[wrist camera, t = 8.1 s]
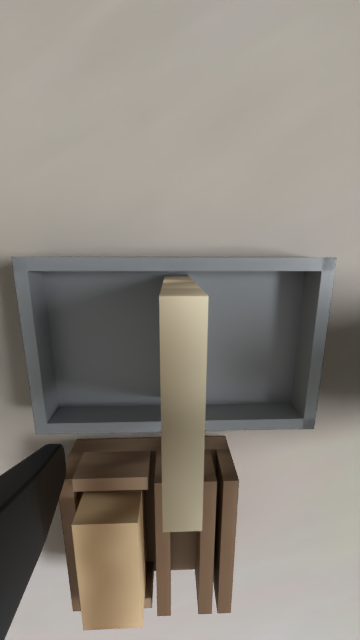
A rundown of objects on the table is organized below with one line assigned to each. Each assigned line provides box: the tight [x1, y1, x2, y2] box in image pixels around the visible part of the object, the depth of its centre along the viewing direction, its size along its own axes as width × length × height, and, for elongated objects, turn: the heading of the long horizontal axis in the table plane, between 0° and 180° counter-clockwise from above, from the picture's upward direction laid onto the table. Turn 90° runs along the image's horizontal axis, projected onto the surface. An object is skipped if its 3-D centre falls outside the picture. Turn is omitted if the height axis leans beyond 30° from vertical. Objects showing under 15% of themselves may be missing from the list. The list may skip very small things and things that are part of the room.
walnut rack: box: [59, 436, 239, 616], centre depth 21 cm, size 12×12×4 cm
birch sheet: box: [159, 275, 209, 532], centre depth 14 cm, size 2×9×10 cm, turn 0°
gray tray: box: [11, 257, 336, 434], centre depth 18 cm, size 19×12×3 cm, turn 90°
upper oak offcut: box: [71, 492, 145, 630], centre depth 18 cm, size 4×9×2 cm, turn 0°
